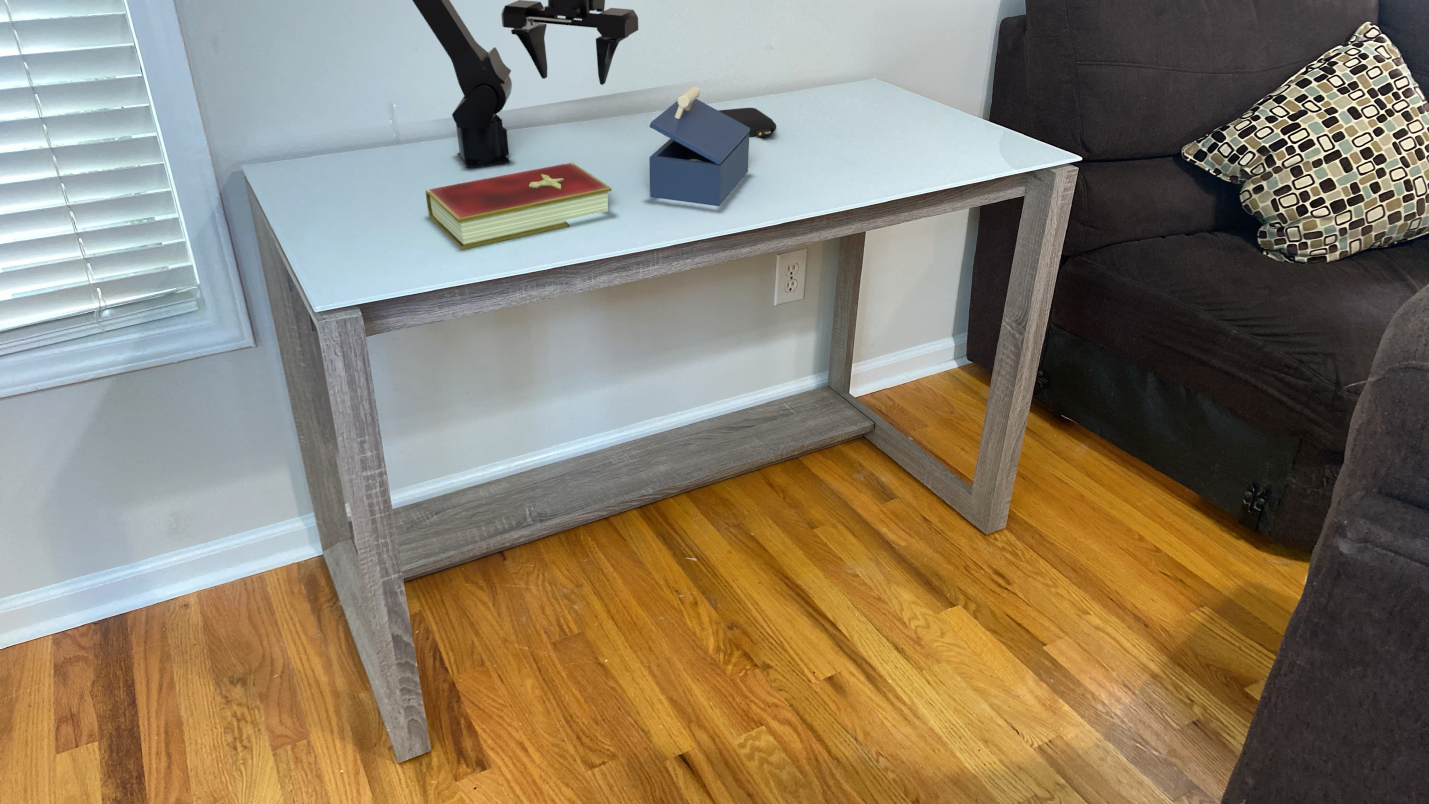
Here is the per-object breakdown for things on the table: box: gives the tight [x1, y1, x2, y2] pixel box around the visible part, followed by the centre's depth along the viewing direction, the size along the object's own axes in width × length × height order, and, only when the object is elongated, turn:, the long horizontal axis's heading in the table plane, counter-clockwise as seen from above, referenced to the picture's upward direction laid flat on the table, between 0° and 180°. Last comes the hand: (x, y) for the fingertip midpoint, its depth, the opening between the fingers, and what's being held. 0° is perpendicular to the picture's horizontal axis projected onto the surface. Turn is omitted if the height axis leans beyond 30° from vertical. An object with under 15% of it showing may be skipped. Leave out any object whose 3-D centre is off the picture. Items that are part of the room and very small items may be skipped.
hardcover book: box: [425, 162, 612, 250], centre depth 127 cm, size 12×21×4 cm, turn 123°
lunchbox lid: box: [649, 85, 750, 165], centre depth 132 cm, size 11×15×4 cm
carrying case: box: [717, 107, 777, 139], centre depth 158 cm, size 11×3×15 cm
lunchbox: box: [649, 134, 750, 207], centre depth 137 cm, size 10×15×6 cm
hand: (573, 81), depth 140 cm, fingers open, 9 cm apart
